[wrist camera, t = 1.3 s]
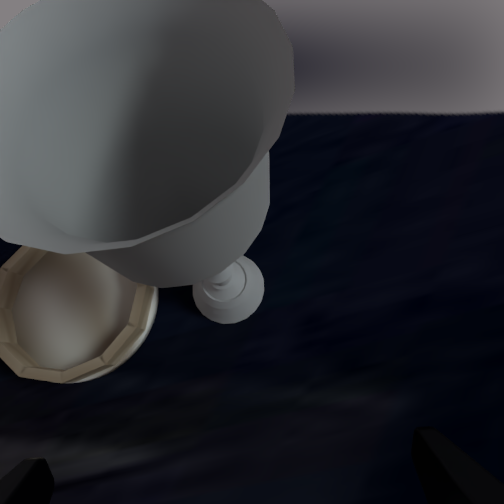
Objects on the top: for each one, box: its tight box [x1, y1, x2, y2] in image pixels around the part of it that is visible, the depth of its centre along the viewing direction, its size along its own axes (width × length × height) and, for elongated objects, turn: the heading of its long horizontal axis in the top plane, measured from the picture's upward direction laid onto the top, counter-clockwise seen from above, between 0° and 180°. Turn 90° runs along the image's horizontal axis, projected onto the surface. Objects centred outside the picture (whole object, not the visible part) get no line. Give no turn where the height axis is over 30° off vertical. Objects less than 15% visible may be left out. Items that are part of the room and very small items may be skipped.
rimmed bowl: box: [0, 246, 158, 383], centre depth 23 cm, size 11×11×2 cm
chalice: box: [0, 0, 295, 324], centre depth 15 cm, size 7×7×18 cm
